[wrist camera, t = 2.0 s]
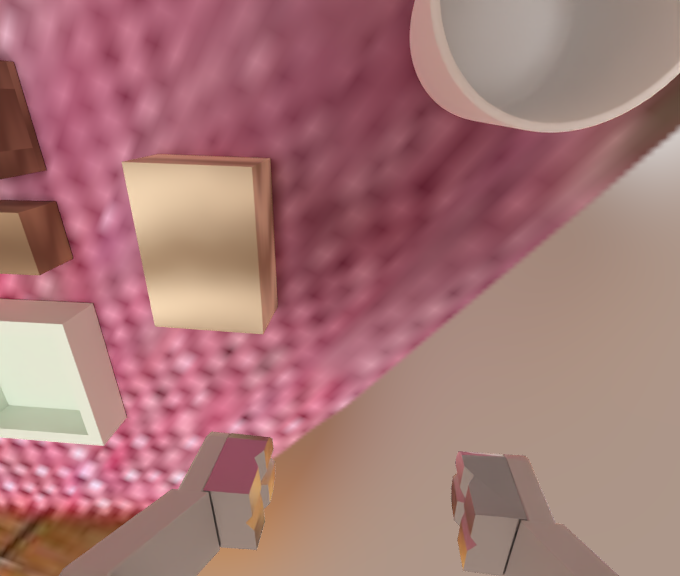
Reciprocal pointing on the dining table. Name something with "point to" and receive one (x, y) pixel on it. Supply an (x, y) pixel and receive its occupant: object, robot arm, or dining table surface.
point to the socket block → (16, 128)
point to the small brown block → (31, 237)
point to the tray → (56, 374)
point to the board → (205, 240)
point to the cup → (544, 58)
